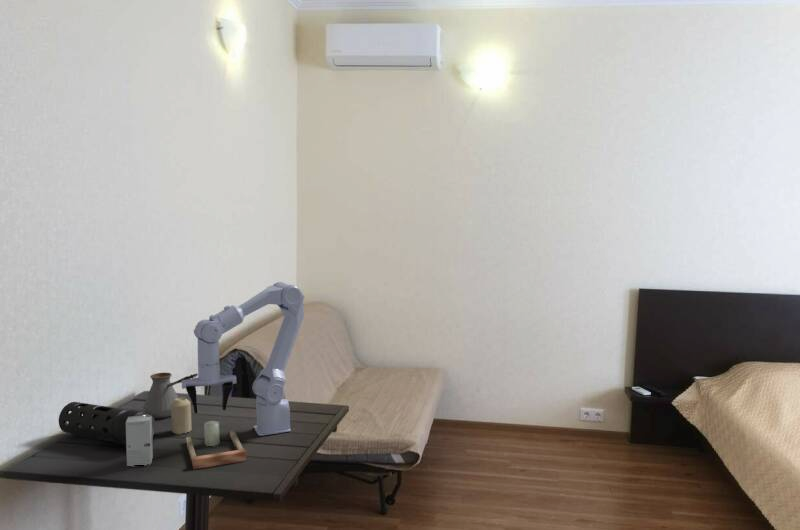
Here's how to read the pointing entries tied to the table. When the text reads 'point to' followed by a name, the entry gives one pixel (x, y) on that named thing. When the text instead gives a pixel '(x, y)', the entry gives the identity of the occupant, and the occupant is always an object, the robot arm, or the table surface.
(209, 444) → the pale green rounded cylinder
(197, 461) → the channel
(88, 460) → the table surface
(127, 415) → the muzzle brake
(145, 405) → the coffee pot
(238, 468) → the table surface
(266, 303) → the robot arm
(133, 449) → the skincare box
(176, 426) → the candle
